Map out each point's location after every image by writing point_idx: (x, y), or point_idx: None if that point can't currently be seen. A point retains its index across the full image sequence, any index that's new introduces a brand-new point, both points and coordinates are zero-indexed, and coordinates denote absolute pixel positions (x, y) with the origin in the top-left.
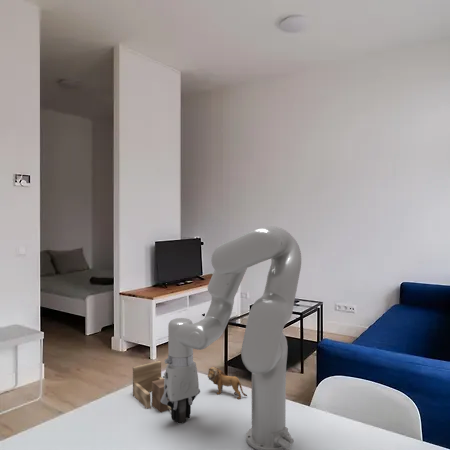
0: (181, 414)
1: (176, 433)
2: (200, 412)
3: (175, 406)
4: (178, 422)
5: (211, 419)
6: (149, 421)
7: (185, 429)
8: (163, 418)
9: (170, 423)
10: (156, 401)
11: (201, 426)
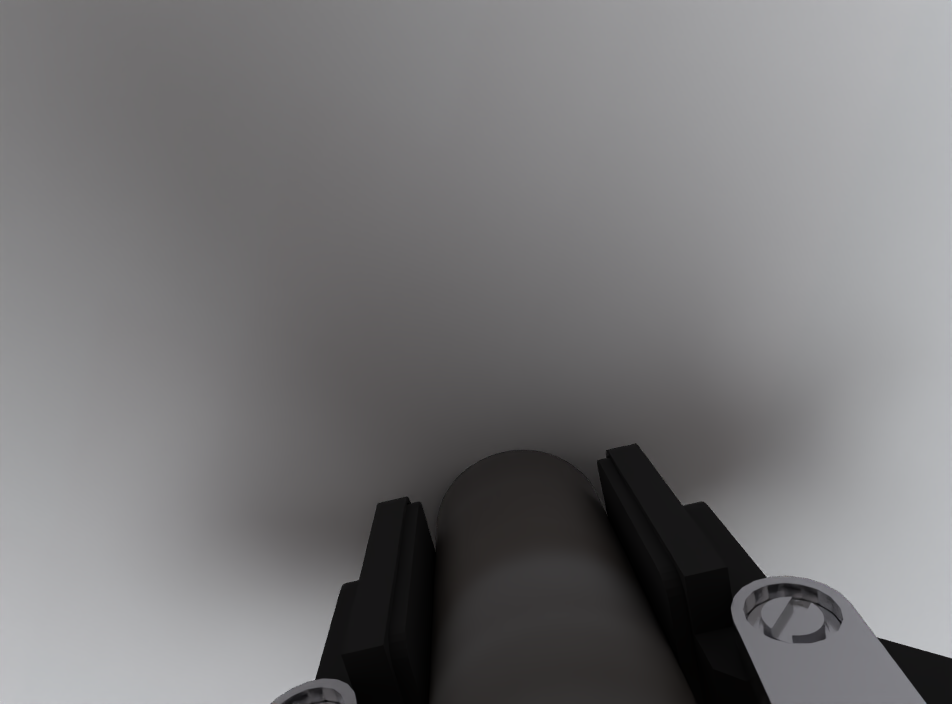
0: (560, 529)
1: (708, 183)
2: (156, 663)
3: (814, 643)
4: (582, 477)
5: (15, 403)
6: None
7: (529, 252)
8: None
9: None
10: None
11: (239, 244)
